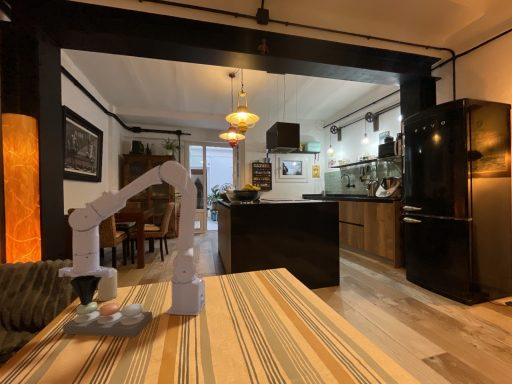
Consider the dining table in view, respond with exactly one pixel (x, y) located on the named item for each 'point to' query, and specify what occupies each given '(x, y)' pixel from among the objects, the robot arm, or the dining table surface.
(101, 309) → the terracotta button
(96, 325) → the button board
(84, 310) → the green button
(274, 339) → the dining table surface
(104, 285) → the candle
